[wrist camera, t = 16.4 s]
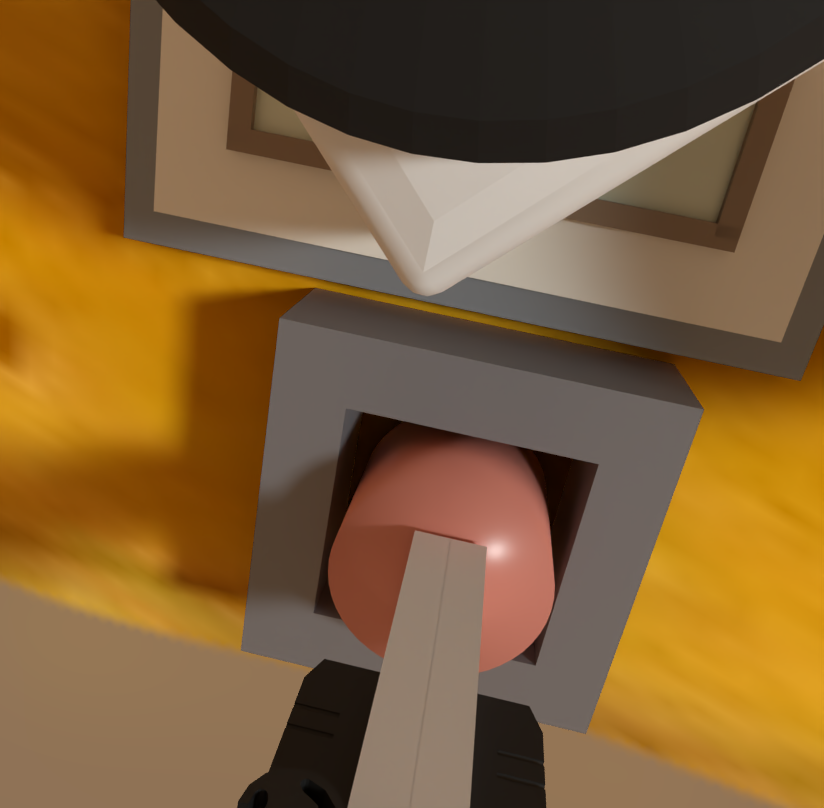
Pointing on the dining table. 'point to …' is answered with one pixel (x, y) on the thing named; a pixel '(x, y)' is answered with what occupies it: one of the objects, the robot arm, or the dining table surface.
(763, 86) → the medicine bottle
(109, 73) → the dining table surface
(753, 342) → the picture board
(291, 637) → the button housing
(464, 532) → the button
